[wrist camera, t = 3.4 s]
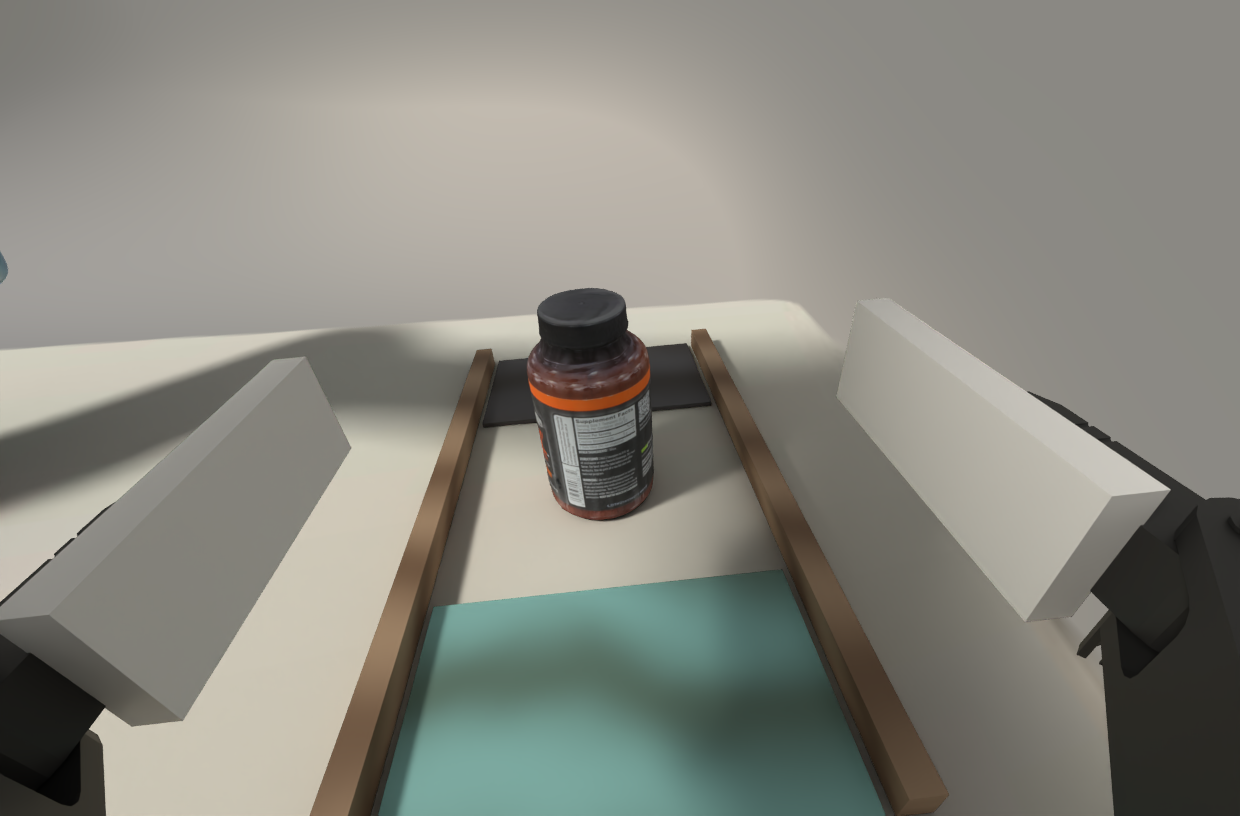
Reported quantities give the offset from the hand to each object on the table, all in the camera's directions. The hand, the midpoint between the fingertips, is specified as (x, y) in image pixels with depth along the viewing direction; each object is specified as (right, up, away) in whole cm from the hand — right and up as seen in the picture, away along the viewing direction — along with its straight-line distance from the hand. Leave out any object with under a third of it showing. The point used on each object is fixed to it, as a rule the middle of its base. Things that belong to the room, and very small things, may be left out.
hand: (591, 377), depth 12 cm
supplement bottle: (0, -5, +16) cm, 17 cm away
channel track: (0, -5, +16) cm, 17 cm away
